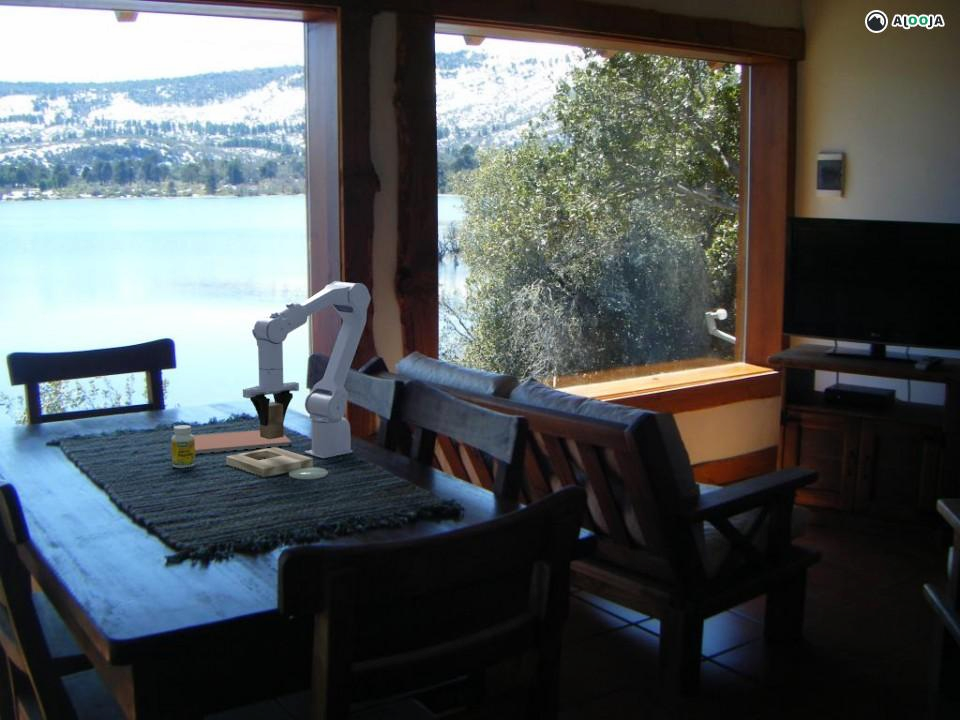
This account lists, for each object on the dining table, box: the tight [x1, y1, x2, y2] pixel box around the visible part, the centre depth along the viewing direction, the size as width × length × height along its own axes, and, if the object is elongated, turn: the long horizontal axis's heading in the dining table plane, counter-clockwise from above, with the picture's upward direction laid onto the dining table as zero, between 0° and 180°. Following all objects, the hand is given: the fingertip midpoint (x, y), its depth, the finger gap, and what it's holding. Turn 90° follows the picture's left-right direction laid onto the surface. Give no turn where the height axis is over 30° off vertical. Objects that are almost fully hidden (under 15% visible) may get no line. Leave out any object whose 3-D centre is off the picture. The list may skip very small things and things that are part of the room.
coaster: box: [288, 466, 329, 481], centre depth 246 cm, size 9×9×1 cm
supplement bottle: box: [171, 424, 196, 469], centre depth 252 cm, size 5×5×10 cm
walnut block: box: [259, 401, 285, 439], centre depth 251 cm, size 4×4×8 cm
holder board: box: [225, 447, 314, 478], centre depth 253 cm, size 14×16×2 cm
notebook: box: [192, 429, 292, 455], centre depth 275 cm, size 27×17×2 cm, turn 114°
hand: (272, 423), depth 251 cm, fingers closed on walnut block, 4 cm apart
